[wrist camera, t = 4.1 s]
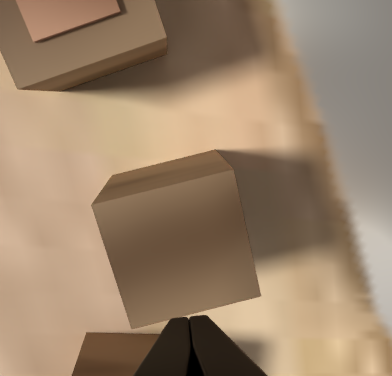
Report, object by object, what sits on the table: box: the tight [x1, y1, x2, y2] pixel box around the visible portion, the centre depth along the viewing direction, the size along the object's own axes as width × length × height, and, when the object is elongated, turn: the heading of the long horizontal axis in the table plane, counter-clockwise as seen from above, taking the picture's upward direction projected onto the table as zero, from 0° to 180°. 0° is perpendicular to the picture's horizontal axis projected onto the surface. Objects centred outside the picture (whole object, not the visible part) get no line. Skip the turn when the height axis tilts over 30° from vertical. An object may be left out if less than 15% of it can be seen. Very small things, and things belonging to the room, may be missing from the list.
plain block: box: [91, 150, 261, 329], centre depth 16 cm, size 5×5×5 cm
